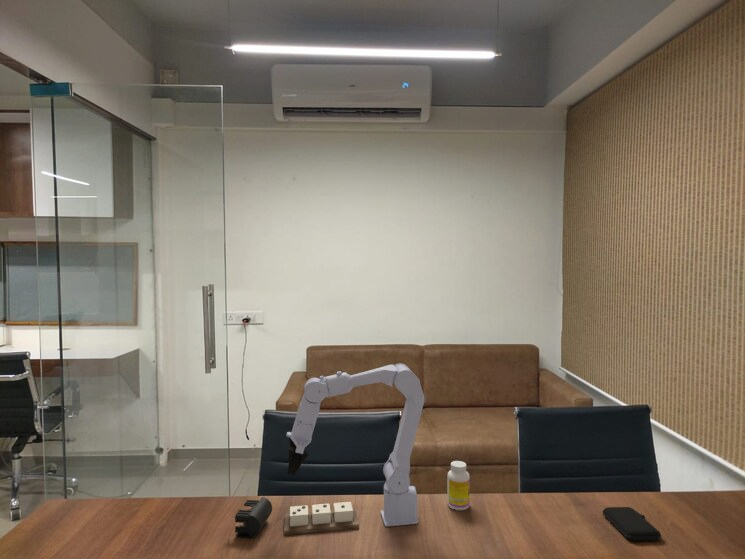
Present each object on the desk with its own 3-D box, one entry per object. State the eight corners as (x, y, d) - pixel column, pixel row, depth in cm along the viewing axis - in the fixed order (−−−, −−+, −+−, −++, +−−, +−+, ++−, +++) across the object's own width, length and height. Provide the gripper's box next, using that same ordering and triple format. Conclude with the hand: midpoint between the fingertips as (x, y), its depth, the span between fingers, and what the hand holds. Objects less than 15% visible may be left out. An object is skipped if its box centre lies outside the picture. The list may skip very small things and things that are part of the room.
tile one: (350, 511, 137) (350, 501, 136) (352, 521, 132) (352, 509, 132) (333, 513, 136) (333, 502, 136) (334, 522, 131) (334, 511, 131)
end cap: (260, 541, 125) (259, 516, 124) (234, 539, 125) (234, 514, 125) (272, 520, 134) (272, 497, 134) (249, 518, 135) (248, 495, 135)
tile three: (307, 515, 135) (307, 504, 135) (308, 525, 130) (308, 513, 130) (290, 516, 134) (290, 505, 134) (289, 526, 129) (289, 515, 129)
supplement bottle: (471, 511, 139) (472, 468, 139) (449, 511, 139) (449, 468, 138) (466, 499, 146) (467, 459, 145) (445, 500, 146) (445, 459, 145)
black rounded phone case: (668, 544, 123) (635, 514, 138) (669, 532, 123) (635, 504, 138) (629, 545, 123) (599, 515, 137) (629, 533, 123) (599, 504, 137)
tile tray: (355, 512, 139) (355, 508, 139) (358, 528, 130) (358, 524, 130) (285, 518, 136) (285, 513, 136) (284, 535, 127) (284, 531, 127)
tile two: (329, 513, 136) (329, 502, 136) (330, 523, 131) (330, 511, 131) (312, 515, 135) (312, 504, 135) (312, 524, 130) (312, 513, 130)
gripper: (291, 409, 137) (278, 454, 137) (291, 426, 123) (276, 476, 123) (315, 415, 138) (302, 459, 138) (317, 432, 124) (302, 482, 124)
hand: (291, 467), depth 131 cm, fingers open, 7 cm apart
